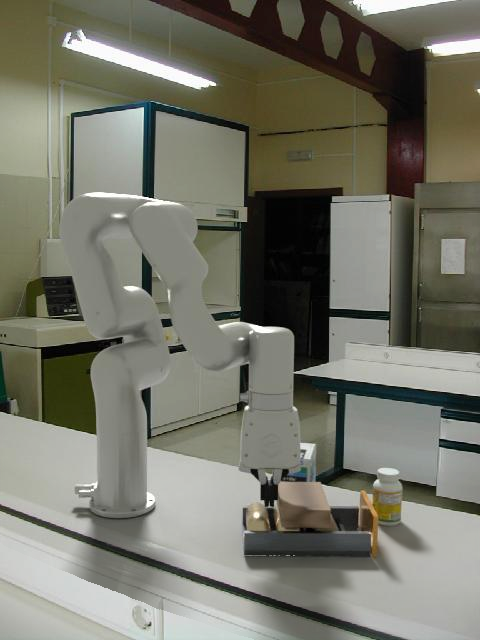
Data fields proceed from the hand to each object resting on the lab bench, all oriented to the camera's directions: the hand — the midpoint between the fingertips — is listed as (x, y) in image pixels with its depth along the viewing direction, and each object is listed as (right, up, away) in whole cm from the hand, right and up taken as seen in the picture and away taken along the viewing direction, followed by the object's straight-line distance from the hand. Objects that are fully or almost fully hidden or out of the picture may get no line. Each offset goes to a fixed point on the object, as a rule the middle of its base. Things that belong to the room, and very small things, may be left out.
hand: (269, 503), depth 125 cm
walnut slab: (+6, -2, 0) cm, 6 cm away
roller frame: (+7, -7, +1) cm, 10 cm away
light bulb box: (+6, -5, +19) cm, 20 cm away
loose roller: (+9, -6, +1) cm, 11 cm away
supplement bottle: (+22, -6, +10) cm, 25 cm away
